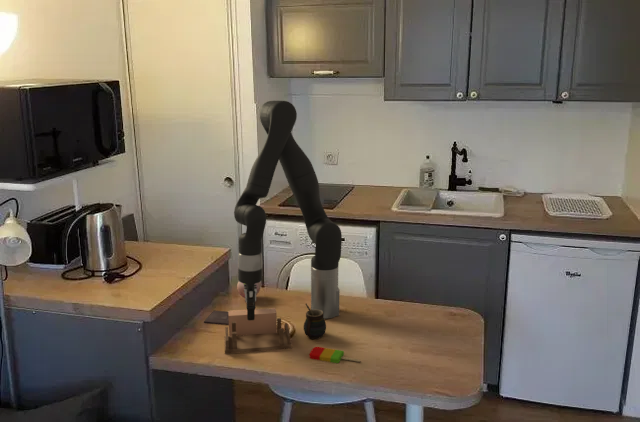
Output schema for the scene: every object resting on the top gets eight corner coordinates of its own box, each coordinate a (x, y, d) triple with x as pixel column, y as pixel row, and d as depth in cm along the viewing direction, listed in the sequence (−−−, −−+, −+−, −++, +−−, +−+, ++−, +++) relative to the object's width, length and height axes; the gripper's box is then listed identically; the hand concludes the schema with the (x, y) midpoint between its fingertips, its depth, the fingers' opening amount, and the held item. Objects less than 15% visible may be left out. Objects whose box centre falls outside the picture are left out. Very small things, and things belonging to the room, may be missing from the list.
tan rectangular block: (275, 327, 194) (275, 307, 192) (276, 333, 190) (276, 313, 188) (229, 330, 191) (228, 310, 190) (229, 336, 188) (228, 315, 186)
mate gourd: (318, 343, 183) (318, 313, 180) (298, 337, 187) (297, 308, 184) (330, 334, 189) (330, 305, 186) (310, 328, 193) (310, 300, 190)
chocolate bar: (213, 310, 205) (264, 314, 202) (213, 312, 205) (264, 317, 202) (203, 321, 196) (256, 326, 193) (204, 324, 197) (256, 329, 193)
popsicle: (314, 351, 179) (314, 345, 179) (362, 359, 175) (362, 353, 174) (308, 359, 174) (308, 354, 174) (357, 368, 170) (357, 362, 169)
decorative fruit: (241, 293, 221) (241, 268, 218) (263, 295, 219) (262, 269, 217) (234, 303, 212) (233, 277, 209) (256, 305, 210) (255, 279, 208)
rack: (288, 335, 188) (288, 317, 186) (291, 348, 179) (291, 330, 178) (224, 339, 185) (223, 321, 183) (224, 353, 176) (224, 334, 175)
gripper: (263, 273, 179) (263, 323, 183) (261, 258, 193) (261, 304, 197) (238, 274, 178) (238, 324, 182) (237, 258, 191) (238, 305, 196)
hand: (250, 314), depth 189 cm, fingers open, 8 cm apart
